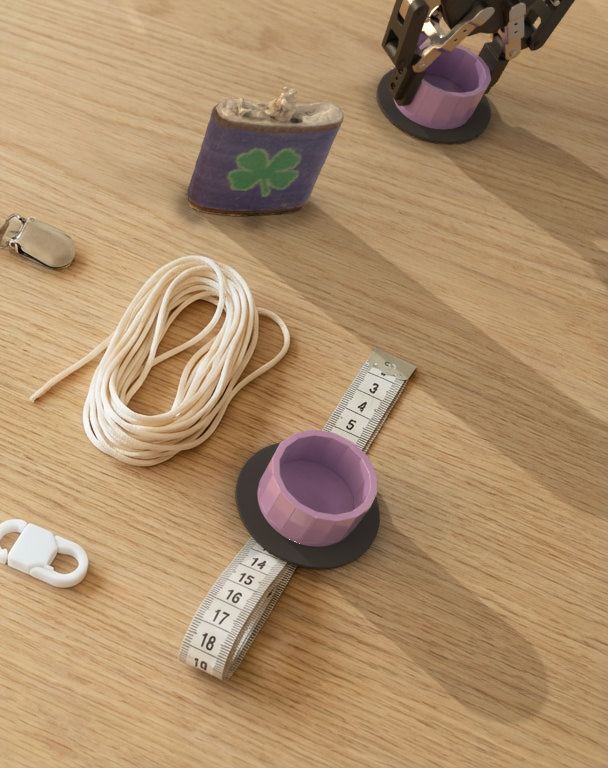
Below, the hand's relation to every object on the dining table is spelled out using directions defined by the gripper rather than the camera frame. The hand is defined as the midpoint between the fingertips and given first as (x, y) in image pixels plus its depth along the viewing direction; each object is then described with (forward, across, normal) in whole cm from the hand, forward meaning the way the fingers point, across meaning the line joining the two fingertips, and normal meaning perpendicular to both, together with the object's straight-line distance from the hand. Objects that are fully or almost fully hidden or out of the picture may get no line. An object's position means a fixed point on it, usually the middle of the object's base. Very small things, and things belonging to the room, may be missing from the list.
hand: (437, 92), depth 97 cm
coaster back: (+1, 0, 0) cm, 1 cm away
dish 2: (+1, 0, 0) cm, 1 cm away
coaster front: (+1, -25, -32) cm, 40 cm away
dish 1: (+1, -25, -32) cm, 40 cm away
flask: (+2, -19, -7) cm, 20 cm away
